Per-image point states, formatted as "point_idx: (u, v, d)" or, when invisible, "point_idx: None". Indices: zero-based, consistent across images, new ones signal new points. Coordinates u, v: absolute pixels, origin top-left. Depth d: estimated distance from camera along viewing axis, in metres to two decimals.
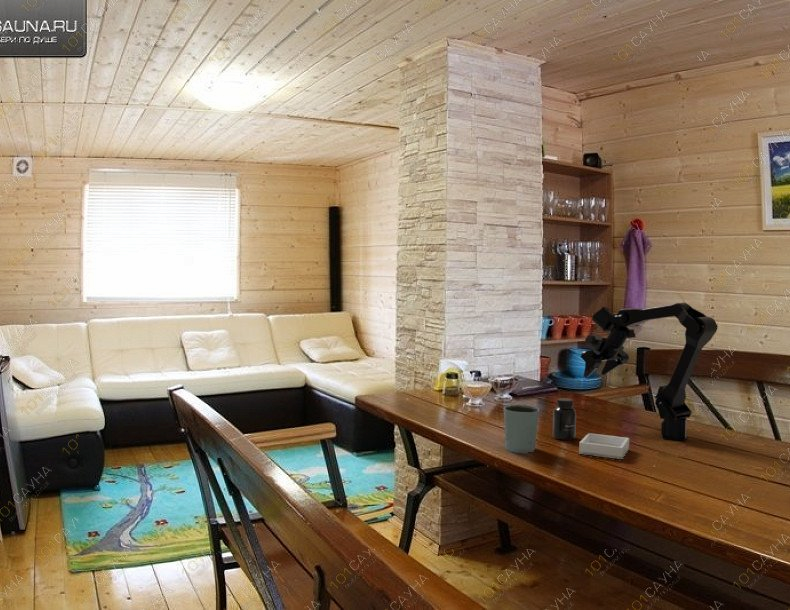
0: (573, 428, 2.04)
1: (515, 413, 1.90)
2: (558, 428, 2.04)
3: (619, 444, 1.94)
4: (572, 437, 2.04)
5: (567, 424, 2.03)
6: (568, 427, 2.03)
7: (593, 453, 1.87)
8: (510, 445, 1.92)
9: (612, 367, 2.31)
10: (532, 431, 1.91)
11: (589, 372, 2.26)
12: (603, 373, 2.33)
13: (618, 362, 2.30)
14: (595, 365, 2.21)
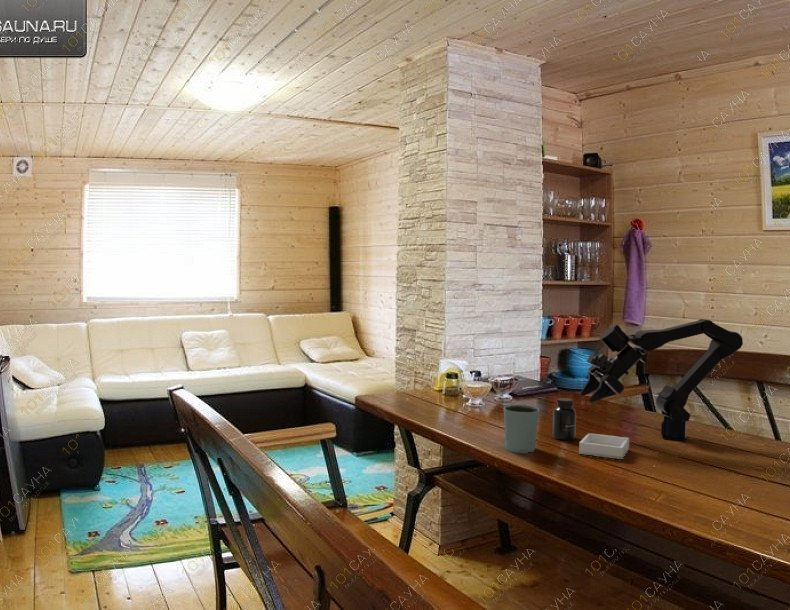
0: (573, 428, 2.04)
1: (515, 413, 1.90)
2: (558, 428, 2.04)
3: (619, 444, 1.94)
4: (572, 437, 2.04)
5: (567, 424, 2.03)
6: (568, 427, 2.03)
7: (593, 453, 1.87)
8: (510, 445, 1.92)
9: (595, 388, 2.11)
10: (532, 431, 1.91)
11: (601, 397, 2.00)
12: (583, 394, 2.10)
13: (600, 383, 2.12)
14: None
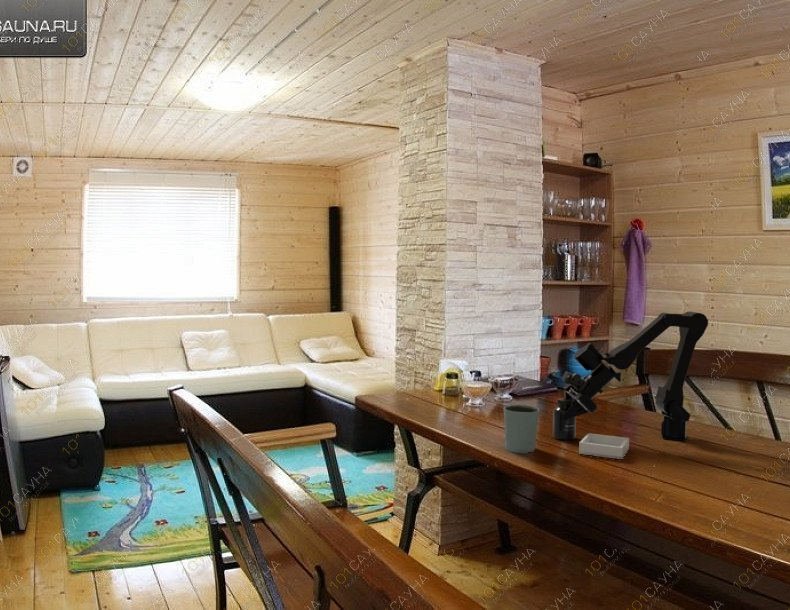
0: (573, 428, 2.04)
1: (515, 413, 1.90)
2: (558, 428, 2.04)
3: (619, 444, 1.94)
4: (572, 437, 2.04)
5: (567, 424, 2.03)
6: (568, 427, 2.03)
7: (593, 453, 1.87)
8: (510, 445, 1.92)
9: None
10: (532, 431, 1.91)
11: (574, 415, 2.02)
12: None
13: None
14: None
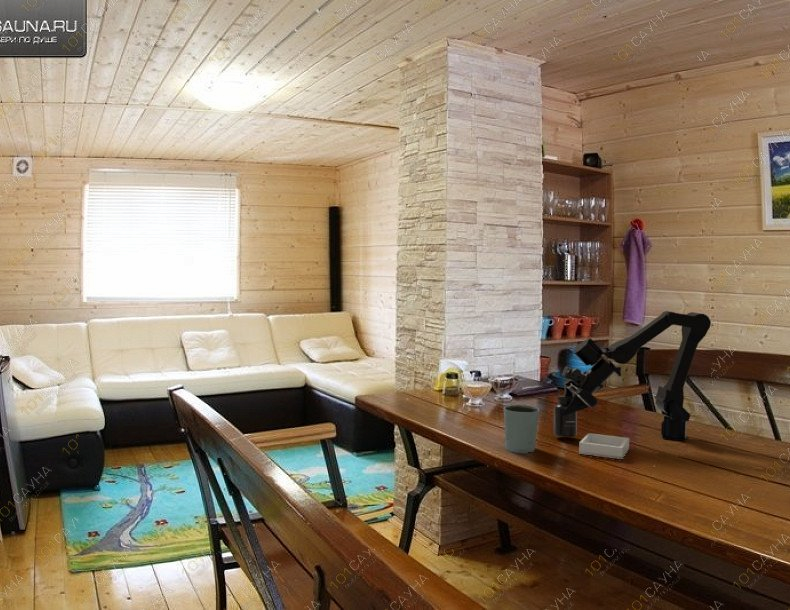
0: (575, 424, 2.03)
1: (515, 413, 1.90)
2: (559, 424, 2.03)
3: (619, 444, 1.94)
4: (573, 433, 2.03)
5: (568, 420, 2.02)
6: (569, 423, 2.02)
7: (593, 453, 1.87)
8: (510, 445, 1.92)
9: None
10: (532, 431, 1.91)
11: (574, 410, 2.02)
12: None
13: None
14: None
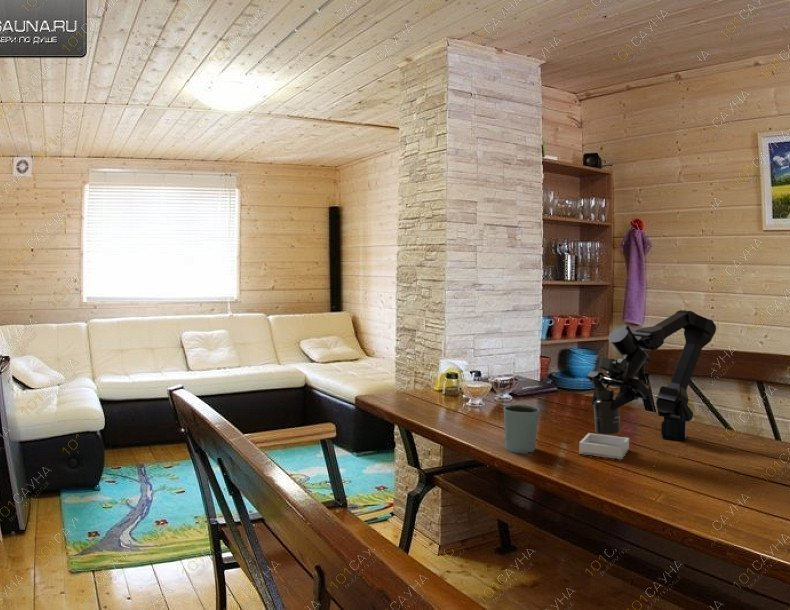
0: (619, 420, 1.89)
1: (515, 413, 1.90)
2: (607, 421, 1.87)
3: (619, 444, 1.94)
4: None
5: (616, 415, 1.87)
6: (617, 418, 1.87)
7: (593, 453, 1.87)
8: (510, 445, 1.92)
9: None
10: (532, 431, 1.91)
11: (622, 403, 1.87)
12: None
13: None
14: None
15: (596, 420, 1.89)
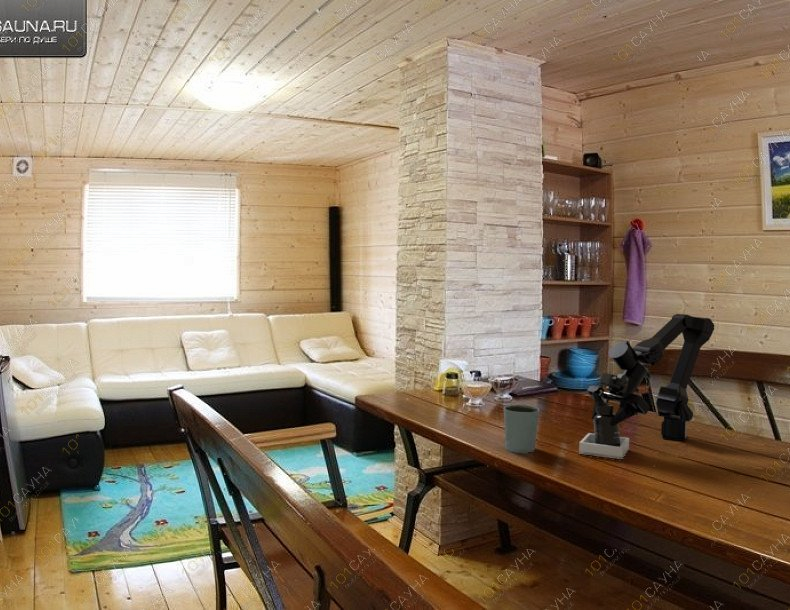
0: (619, 435, 1.89)
1: (515, 413, 1.90)
2: (607, 437, 1.87)
3: None
4: None
5: (616, 431, 1.88)
6: (617, 434, 1.88)
7: (593, 453, 1.87)
8: (510, 445, 1.92)
9: None
10: (532, 431, 1.91)
11: (622, 419, 1.88)
12: None
13: None
14: None
15: (596, 435, 1.90)
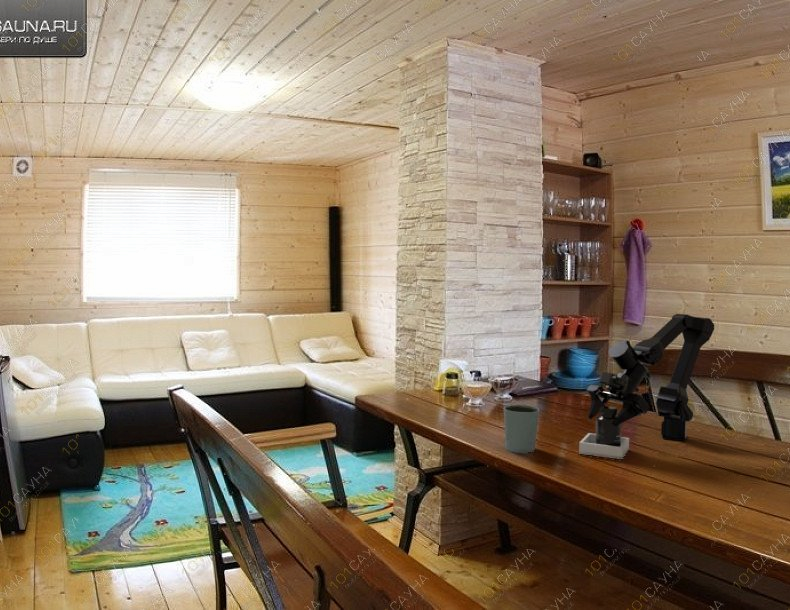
0: (620, 438, 1.89)
1: (515, 413, 1.90)
2: (608, 440, 1.87)
3: None
4: None
5: (618, 434, 1.87)
6: (618, 437, 1.87)
7: (593, 453, 1.87)
8: (510, 445, 1.92)
9: None
10: (532, 431, 1.91)
11: (625, 419, 1.87)
12: (591, 417, 1.94)
13: None
14: None
15: (597, 437, 1.89)
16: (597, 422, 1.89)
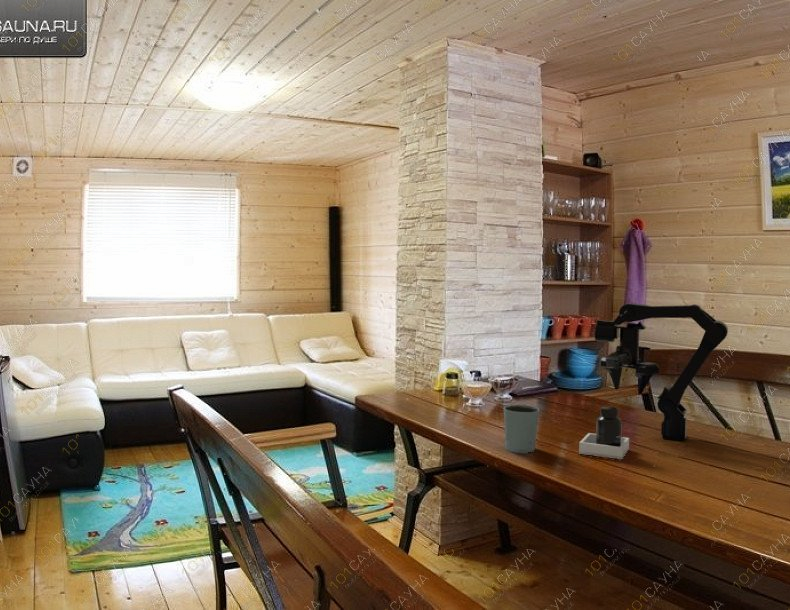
0: None
1: (515, 413, 1.90)
2: (609, 440, 1.87)
3: None
4: None
5: (618, 435, 1.87)
6: (618, 438, 1.87)
7: (593, 453, 1.87)
8: (510, 445, 1.92)
9: (620, 374, 2.17)
10: (532, 431, 1.91)
11: (645, 384, 2.08)
12: (617, 387, 2.16)
13: None
14: None
15: (597, 437, 1.89)
16: (598, 422, 1.89)
